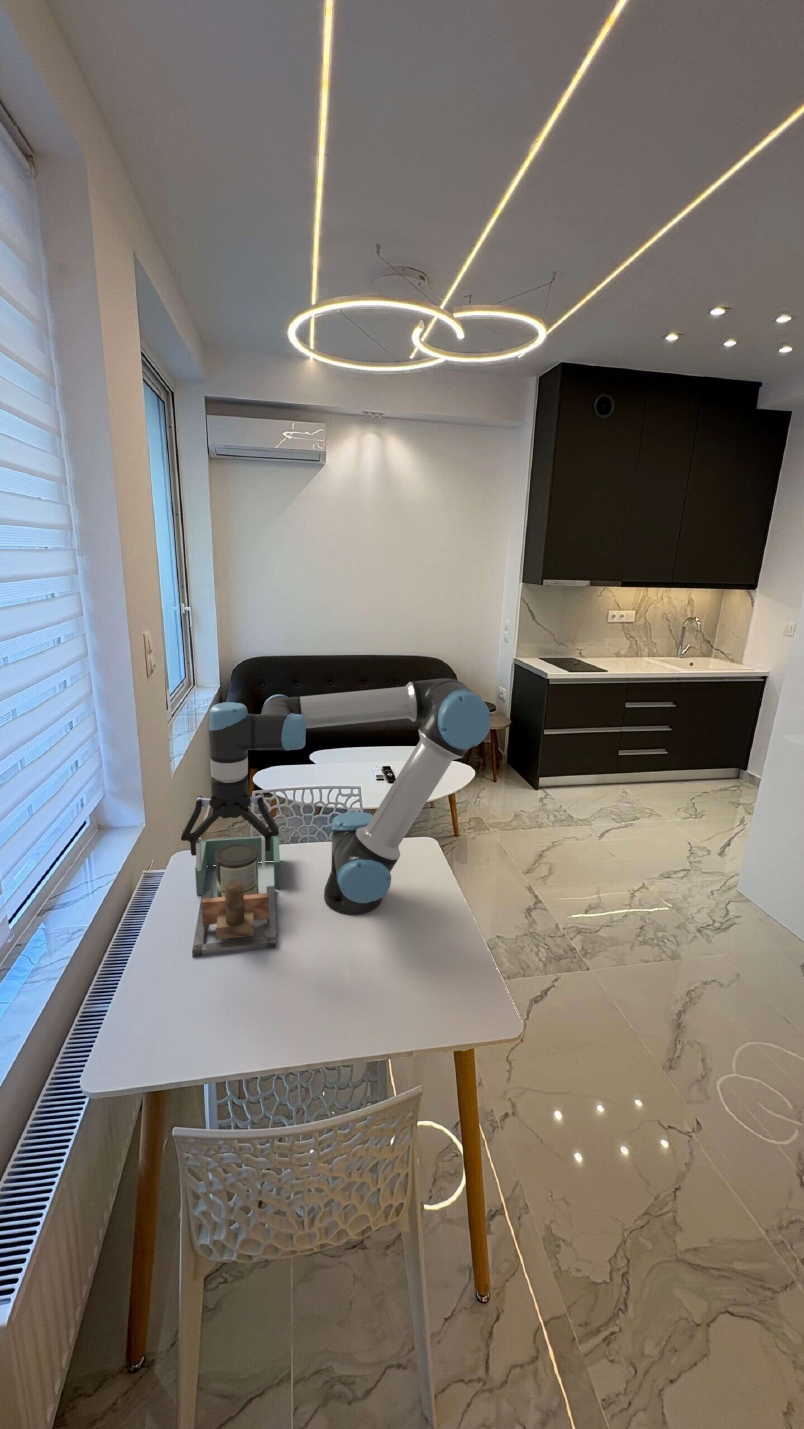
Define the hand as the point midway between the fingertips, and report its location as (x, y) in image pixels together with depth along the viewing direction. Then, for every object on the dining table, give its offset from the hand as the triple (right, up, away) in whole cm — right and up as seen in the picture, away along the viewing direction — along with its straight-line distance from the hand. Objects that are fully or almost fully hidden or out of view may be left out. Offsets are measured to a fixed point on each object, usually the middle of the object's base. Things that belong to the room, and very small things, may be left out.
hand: (231, 865), depth 129 cm
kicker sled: (-1, -16, +6) cm, 17 cm away
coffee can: (-4, -15, +19) cm, 24 cm away
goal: (-7, -11, +30) cm, 33 cm away
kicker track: (-2, -16, +12) cm, 20 cm away
